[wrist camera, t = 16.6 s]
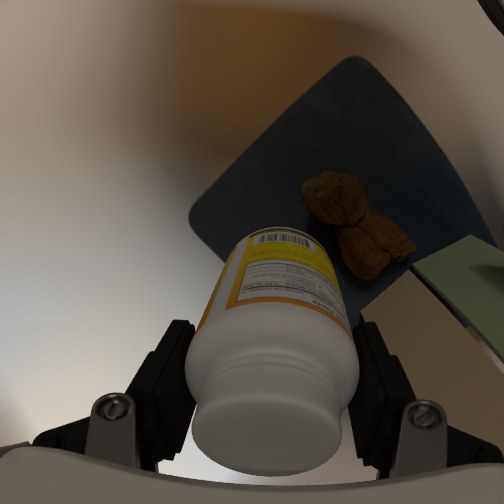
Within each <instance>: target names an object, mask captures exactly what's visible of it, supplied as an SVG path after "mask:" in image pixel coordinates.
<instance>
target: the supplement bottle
mask: <svg viewBox="0 0 504 504" xmlns="http://www.w3.org/2000/svg"><path fill="white" fill-rule="evenodd" d="M359 374H360V368H359V361H358V355H357V351H356V346H355V343H354V340H353V336H352V332H351V328H350V325H349V321H348V317H347V314H346V310H345V306H344V303H343V299H342V296H341V292H340V289H339V285H338V282H337V278H336V275H335V271H334V268H333V265H332V262H331V260H330V258H329V256H328V254H327V252H326V251H325V250H324V248H323V247H322V246H321V245H320V244H319V243H318V242H317V241H316V240H315V239H314V238H312V237H311V236H309V235H307V234H306V233H304V232H301V231H299V230H296V229H292V228H286V227H272V228H266V229H262V230H259V231H256V232H254V233H252V234H250V235H248V236H247V237H245V238H244V239H243V240H241V241H240V242H239V243H238V244H237V245H236V246H235V248H234V249H233V250H232V252H231V253H230V255H229V257H228V259H227V261H226V264H225V266H224V268H223V271H222V273H221V275H220V277H219V280H218V282H217V284H216V286H215V289H214V291H213V293H212V295H211V298H210V300H209V302H208V305H207V307H206V309H205V312H204V314H203V316H202V319H201V321H200V323H199V325H198V328H197V330H196V332H195V334H194V337H193V339H192V341H191V344H190V346H189V349H188V352H187V356H186V361H185V377H186V382H187V385H188V388H189V390H190V393H191V395H192V397H193V398H194V400H195V401H196V403H197V408H196V412H195V415H194V418H193V421H192V435H193V439H194V441H195V443H196V445H197V446H198V448H199V449H200V450H201V451H202V452H203V453H204V454H205V455H206V456H207V457H209V458H210V459H211V460H213V461H215V462H216V463H218V464H220V465H222V466H224V467H226V468H229V469H232V470H234V471H238V472H241V473H246V474H250V475H256V476H268V477H270V476H289V475H294V474H299V473H303V472H306V471H309V470H312V469H314V468H316V467H318V466H320V465H321V464H323V463H325V462H326V461H328V460H329V459H330V458H331V457H332V456H333V455H334V454H335V453H336V451H337V450H338V447H339V446H340V443H341V438H342V432H341V431H342V430H341V412H343V410H344V409H345V408H346V407H347V406H348V404H349V403H350V401H351V400H352V398H353V396H354V394H355V392H356V389H357V386H358V382H359Z"/></svg>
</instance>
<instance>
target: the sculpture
mask: <svg viewBox="0 0 504 504" xmlns="http://www.w3.org/2000/svg"><path fill="white" fill-rule="evenodd" d="M300 195H301V197H302V199H303V202H304V203H305V204H306V207H307V208H308V209H309V210H310V211H311V212H313V213H314V214H315V215H316V216H317V217H318V218H319V219H320V220H322V221H323V222H325V223H329V224H333V225H334V232H335V235H336V238H337V241H338V245H339V248H340V251H341V256H342V259H343V261H344V263H345V265H346V266H347V267H348V268H349V269H350V271H351V272H352V273H353V274H354V275H356V276H358V277H359V278H361V279H366V280H372V279H373V278H375V277H376V276H377V275H378V274H379V273H380V271H381V270H382V269H383V268H384V267H385V266H387V264H388V263H390V258H391V259H393V260H395V261H398V262H399V261H403V260H404V259H405V257H406V256H407V255H409V254H410V253H413V252H415V251H416V249H417V247H416V245H415V243H414V242H413V241H412V240H410V239H409V238H408V236H407V234H406V233H405V232H404V230H402V229H401V228H400V227H399V226H397V225H396V224H395V223H394V222H393V221H392V220H391V219H390V218H389V217H388V216H386V215H385V214H383V213H381V212H380V211H378V210H376V209H374V208H372V207H370V206H369V205H368V203H367V201H366V196H365V193H364V189H363V185H362V182H361V180H360V179H359V178H358V176H357V175H355V174H354V173H352V172H348V171H347V170H334V169H327V170H325V171H323V172H322V173H321V174H320V175H318V176H314V177H312V178H310V179H307V180H305V181H304V182H303V183H302V184H301V185H300Z"/></svg>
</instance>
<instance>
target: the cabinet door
mask: <svg viewBox="0 0 504 504" xmlns="http://www.w3.org/2000/svg"><path fill="white" fill-rule="evenodd" d="M502 231H503V238H504V220H503V222H502ZM412 267H413V269H414V270H415V271H416V272H417V273H418V274H419V275H420V276H421V277H422V278H423V279H424V280H425V281H426V282H427V283H428V284H429V285H431V286H432V287H433V288H434V289H435V290H436V291H437V292H438V293H439V294H440V295H441V296H442V297H443V298H444V299H445V300H446V301H447V303H448V304H449V305H450V306H451V307H452V308H453V309H454V310H455V311H456V312H457V313H458V314H459V315H460V316H461V317H462V318H463V319H464V320H465V321H466V322H467V323H468V324H469V326H470V327H471V328H472V329H473V330H474V331H475V332H476V333H477V334H478V335H479V336H480V337H481V339H482V340H483V341H484V342H485V343H486V344H487V345H488V346H489V348H490V349H492V351H493V352H494V353H495V354H496V355H497V357H498V358H499V359H500V360H501V361H502V362H503V364H504V252H502V251H500V250H499V249H497V248H495V247H493V246H491V245H489V244H488V243H486V242H484V241H482V240H480V239H478V238H476V237H474V236H472V235H469V236H467V237H465V238H463V239H461V240H459V241H457V242H455V243H453V244H451V245H449V246H447V247H445V248H443V249H441V250H439V251H437V252H436V253H433V254H431V255H429V256H427V257H425V258H423V259H421V260H419V261H417V262H415V263H413V264H412Z"/></svg>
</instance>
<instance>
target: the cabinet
mask: <svg viewBox="0 0 504 504" xmlns="http://www.w3.org/2000/svg"><path fill="white" fill-rule="evenodd" d="M360 312H361V314H362V316H363V318H364V320H365V322H375V323H376V325H377V327H378V329H379V331H380V333H381V335H382V338H383V340H384V342H385V344H386V346H387V349H388V351H389V353H390V355H397V357H398V358H399V360H400V362H401V364H402V367H403V369H404V371H405V373H406V375H407V378H408V380H409V382H410V384H411V386H412V389H413V391H414V393H415V396H416V398H417V400H422V399H426V400H430V401H433V402H436V403H438V404H439V405H440V406H441V407H443V409H444V410H445V412H446V416H447V425H450V426H452V427H454V428H456V429H459V430H461V431H463V432H466V433H468V434H470V435H473V436H475V437H478V438H480V439H482V440H485V441H487V442H490V443H492V444H494V445H496V446H497V447H498V448H499V449H500V450H501V452H502V454H503V457H504V374H503V373H502V371H501V370H500V369H499V368H498V366H497V365H496V364H495V363H494V362H493V360H491V358H490V357H489V356H488V354H487V353H486V352H485V351H484V350H483V349H482V347H481V346H480V345H479V344H478V343H477V342H476V340H475V339H474V338H473V337H472V336H471V335H470V334H469V333H468V331H467V330H466V329H465V328H464V327H463V326H462V325H461V324H460V322H459V321H458V320H457V319H456V318H455V317H454V316H453V315H452V314H451V313H450V312H449V311H448V309H447V308H446V307H445V306H444V305H443V304H442V303H441V302H440V301H439V300H438V299H437V298H436V297H435V296H434V295H433V294H432V293H431V292H430V291H429V290H428V289H427V288H426V287H425V285H424V284H423V283H422V282H421V281H420V280H419V279H418V278H417V277H416V276H415V275H414V274H413V273H412V272H411V271H410V270H407V271H406V272H405V273H404V274H403V275H402V276H401V277H399V278H398V279H397V280H396V281H395V282H394V283H393V284H392V285H390V286H389V287H388V288H387V289H386V290H385V291H383V292H382V293H381V294H380V295H379V296H378V297H376V298H375V299H374V300H373V301H372V302H371V303H369V304H368V305H367V306H366V307H365V308H363V309H362V310H361V311H360Z"/></svg>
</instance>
